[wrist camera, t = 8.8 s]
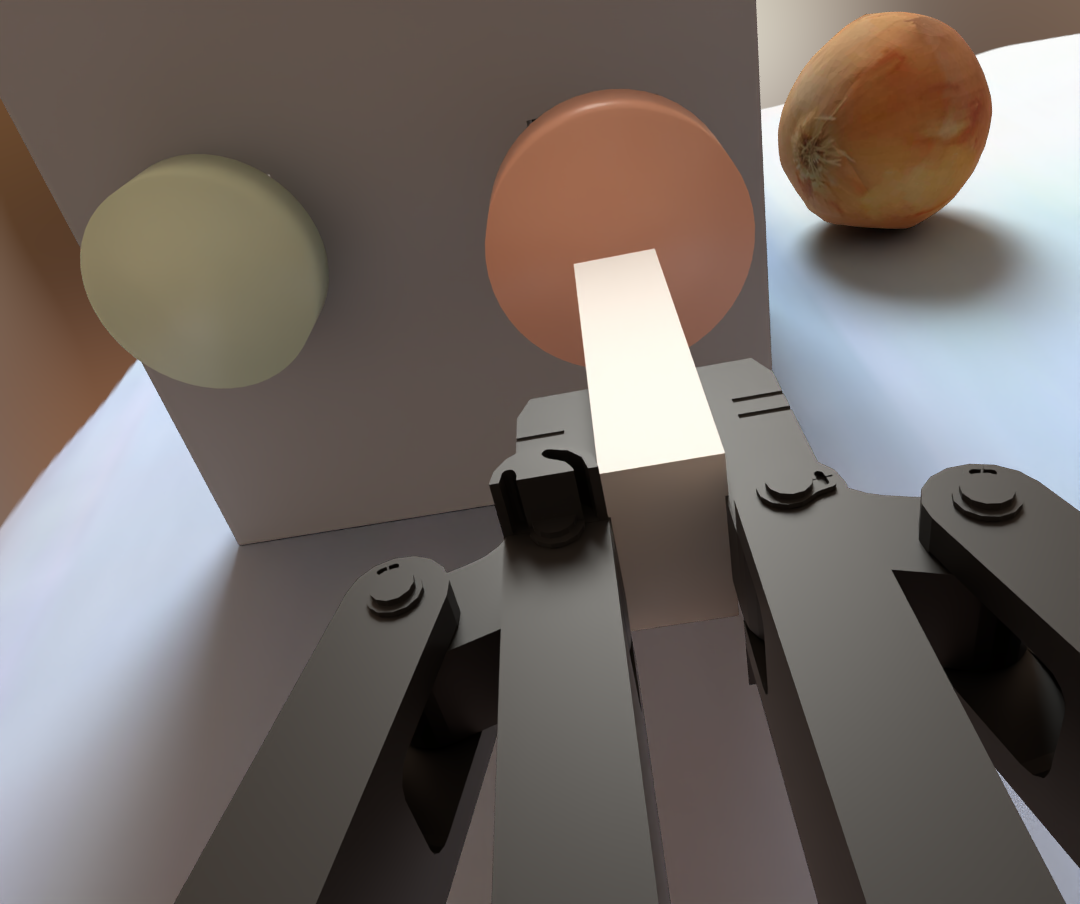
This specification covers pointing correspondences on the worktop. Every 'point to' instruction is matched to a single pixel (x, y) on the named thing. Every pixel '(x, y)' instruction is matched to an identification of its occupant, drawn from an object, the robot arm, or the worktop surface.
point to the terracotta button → (616, 213)
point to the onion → (885, 122)
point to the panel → (372, 208)
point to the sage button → (206, 271)
